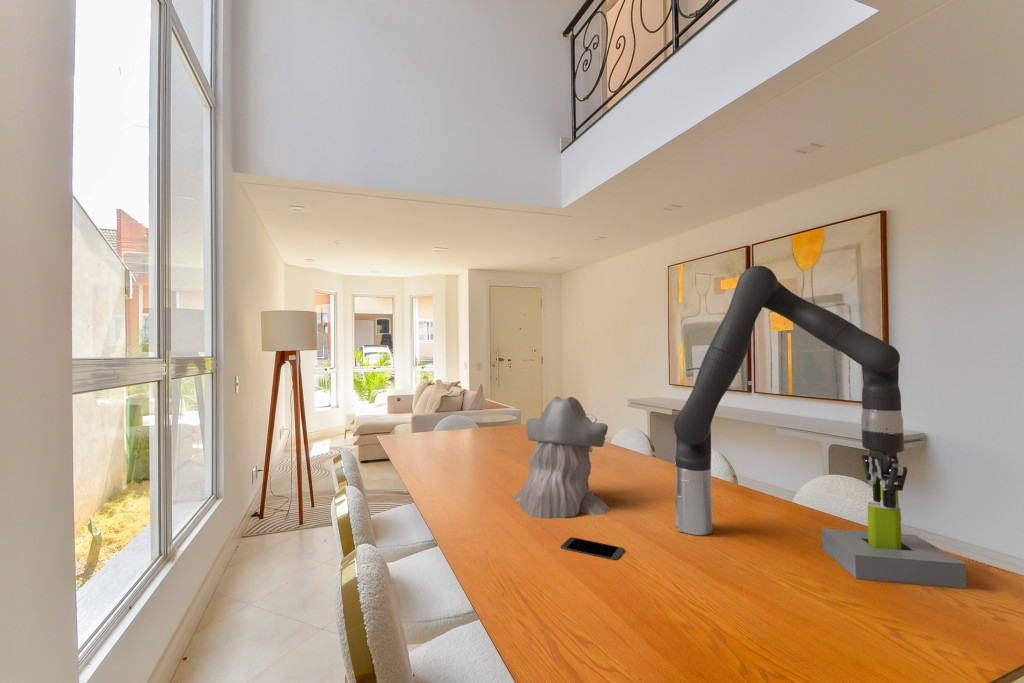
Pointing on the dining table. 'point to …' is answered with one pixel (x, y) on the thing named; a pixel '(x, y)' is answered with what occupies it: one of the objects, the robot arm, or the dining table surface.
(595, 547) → the smartphone
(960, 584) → the charging dock
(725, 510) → the dining table surface
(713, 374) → the robot arm
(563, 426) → the bust
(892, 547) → the vape
